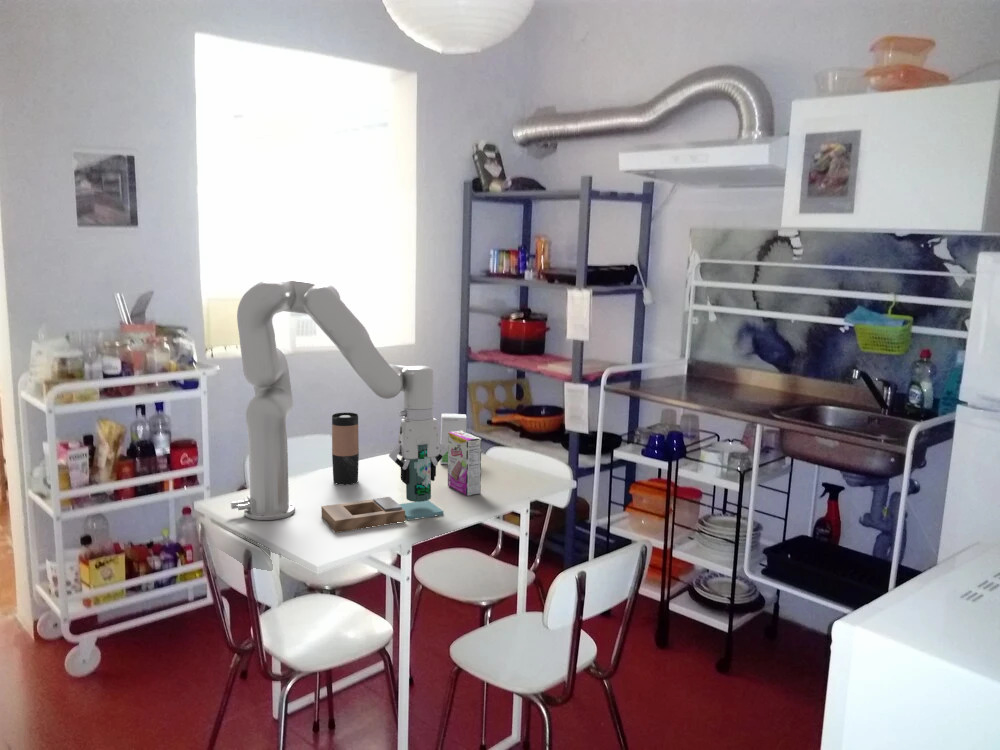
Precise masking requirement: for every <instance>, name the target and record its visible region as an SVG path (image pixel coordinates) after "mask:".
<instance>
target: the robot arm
mask: <svg viewBox="0 0 1000 750" xmlns="http://www.w3.org/2000/svg"><path fill="white" fill-rule="evenodd" d="M236 312H237V313H236V318H237V319H236V323H237V328H238V329H237V330H238V335H239V347H240V348H239V349H240V353H241V360H242V361H241V362H242V372H243V375H244V377H245V378H244V379H245V380H246V381H247V382H248V384H250V385H251V386H253V389H254V395H255V396H253V397H252V399H251V400H250V401H249V402H248V404H247V407H246V409H245V423H246V432H247V441H248V444H247V445H248V465H249V470H248V471H249V494H247V496H246V497H247V498H243V500H233V501H230V507H231V510H235V509H237V510H238V511H244V512H243V513H244V514H243V516H245V517H246V518H247V519H251V520H254V521H274V520H280V519H284V518H288V517H289V516H290V517H291V516H292V515H293V514H294V513H296V506H295V505H294V504H293V503H292V502H289V501H290V498H289V497H290V493H289V492H290V491H289V488H290V487H289V452H288V450H289V449H288V434H287V418H288V417H289V415H290V414H291V413H292V412H291V411H292V409H293V406H294V404H293V403H294V400H293V392H292V391H293V390H292V385H291V377H290V370H289V364H288V359H287V358H286V356H285V354H284V353H283V351H282V350H281V349H279V348H277V344H276V343H277V342H276V334H275V329H274V324H273V317H274V316H275V315H276V314H278V313H281V312H289V313H295V314H304V315H308V316H309V317H310V318H311V320H312V321H314V323H315V324H316V325H317V326H318V327H319V328H320V330H321V331H322V332H323V333H324V334H325V335H326V336H327V337H328V338H329V340H330V341H331V342H332V343H333V344H334V345H335V346H336V348H337V349H338V350H339V352H340V353H341V355H342V356H343V357H344V358H345V360H346V361H347V362H348V363H349V365H350V366H351V368H352V369H353V370H354V372H355V373H356V374H357V375H358V376H359V378H360V379H361V381H363V382H364V383H365V385H366V386H367V387H368V388H370V390H371V391H372V392H373V393H374V394H375V395H376V396H378V397H379V398H381V399H386V400H390V399H393V398H396V397H397V396H398V395H399V394H400V393H401V392H403V407H402V410H399V411H398V415H399V417H402V419H401V421H400V426H399V432H398V443H397V444H398V445H396V447H394V448H393V450H392V451H390V453H389V454H388V456H389V458H390V459H392V461H393V462H394V463H395V464H396V465H397V466H398V467H399V468H400V481H402V483H403V484H405V485H406V484H409V469H407V467H408V464H409V462H410V460H414V459H418V445H424V444H428V446H427V447H428V448H427V457H428V458H431V482H435V478H436V476H437V466H438V464H439V463H440V460H441V459H442V456H443V455H444V454H445V453H446V452H447V449H446V448H445V447H444V446H443V445H442V444H440V433H439V427H438V421H437V418H435V417H434V370H433V369H432V367H430V366H427V365H410V366H409V365H408V366H406V365H400V364H399V365H398V364H392V363H391V364H390V363H388V361H387V360H386V359H385V358H384V356H382V354H381V353H380V352H379V350H378V349H377V347H376V346H375V344H374V343H373V341H372V339H371V337H370V334H369V332H368V330H367V329H366V327H365V325H363V323H361V321H360V320H359V319H358V318H357V316H355V314H354V313H353V312H352V311H351V310H350V308H349V307H347V305H346V304H345V303H344V301H343V300H342V299H341V296H340V293H339V292H338V290H337V289H336V287H334V286H332V285H331V284H327V283H320V282H311V281H304V280H297V279H290V278H289V279H288V278H283V277H282V278H281V277H277V278H276V277H275V278H269V279H265V280H262V281H260V282H259V283H257V284H255V285H253V286H252V287H250V288H248V290H246V292H244V294H243V295H242V297H241V299H240V301H239V303H238V305H237V311H236ZM398 455H399V456H401V459H400V458H398Z"/></svg>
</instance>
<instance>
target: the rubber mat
mask: <svg viewBox="0 0 1000 750" xmlns="http://www.w3.org/2000/svg"><path fill="white" fill-rule="evenodd" d="M398 504H399V505H400V506H401V507H402V509H404V510H405V518H406V519H407V520H406V519H405V520H406V521H409V520H408V519H413V520H416V519H415V518H419V519H423V518H422V517H426V518H431V517H430V516H433V517H436V516H435V515H439V516H444V510H442V509H441V508H439V507H438V506H437V505H436V504H435V503H433V502H432V501H430V499H429V500H427V501H422V502H413V501H411V502H405V503H398Z"/></svg>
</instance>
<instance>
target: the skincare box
mask: <svg viewBox="0 0 1000 750" xmlns="http://www.w3.org/2000/svg"><path fill="white" fill-rule="evenodd" d="M467 420H468V417H467V414H465V413H464V414H462V413H441V419H440V440H439V443H440V444H442V445H443V446H444V447H445V448H446V449H447V452H446V453H445V454H444V455H443V456H442V459H441V460H440V461H439V464H440V465H448V432H452V431H461V430H462V431H464V432H466V433H467Z"/></svg>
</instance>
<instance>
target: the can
mask: <svg viewBox="0 0 1000 750" xmlns="http://www.w3.org/2000/svg"><path fill="white" fill-rule="evenodd" d="M427 446H428V444H424V445H418V459H414V460H410V462H409V464H408V467H407V469H409V484H405V486H406V489H405V493H406V494H405V495H406V498H405V499H406V500H407V501H410V502H422V501H427V500H429V501H430V500H431V497H432V481H431V458H428V457H427V448H428V447H427Z"/></svg>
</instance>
